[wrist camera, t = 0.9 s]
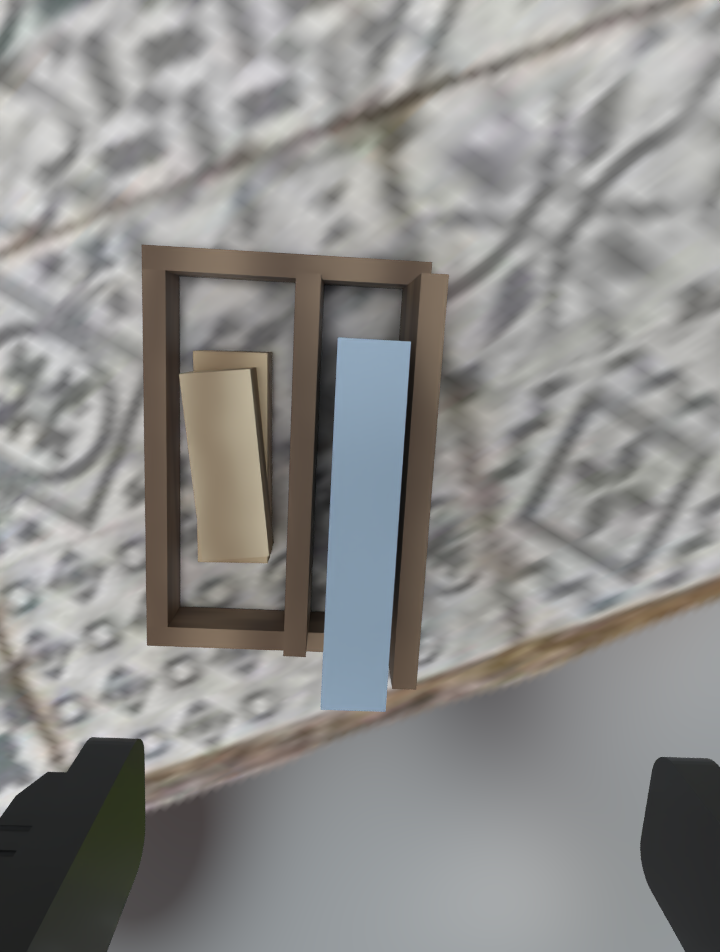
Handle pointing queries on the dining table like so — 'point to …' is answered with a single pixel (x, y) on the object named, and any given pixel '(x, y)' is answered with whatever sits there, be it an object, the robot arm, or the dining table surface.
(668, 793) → the robot arm
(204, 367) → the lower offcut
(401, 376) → the tall panel
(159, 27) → the dining table surface
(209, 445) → the upper offcut
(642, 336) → the dining table surface
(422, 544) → the rack
